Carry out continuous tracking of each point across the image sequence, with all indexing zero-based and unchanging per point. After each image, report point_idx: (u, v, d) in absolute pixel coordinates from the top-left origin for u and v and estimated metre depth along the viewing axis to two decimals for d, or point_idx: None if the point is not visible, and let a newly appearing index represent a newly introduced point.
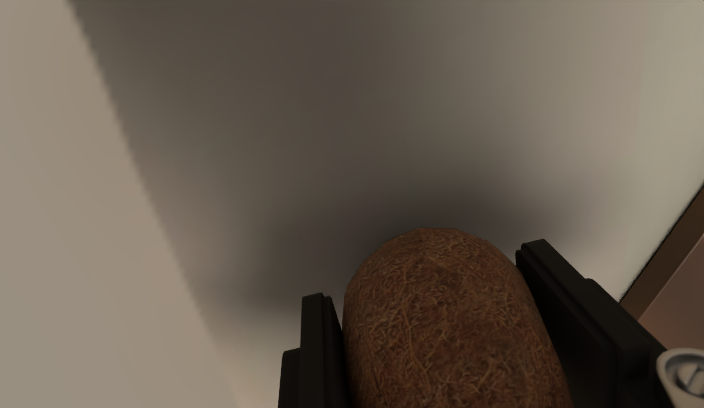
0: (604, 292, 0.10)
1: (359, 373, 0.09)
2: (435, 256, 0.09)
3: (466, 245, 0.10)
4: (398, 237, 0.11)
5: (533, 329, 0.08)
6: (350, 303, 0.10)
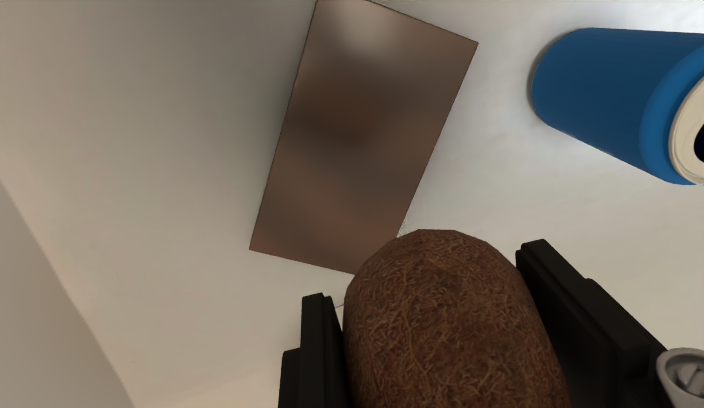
0: (604, 293, 0.10)
1: (359, 375, 0.09)
2: (435, 258, 0.09)
3: (467, 247, 0.10)
4: (398, 239, 0.11)
5: (533, 330, 0.08)
6: (350, 304, 0.10)
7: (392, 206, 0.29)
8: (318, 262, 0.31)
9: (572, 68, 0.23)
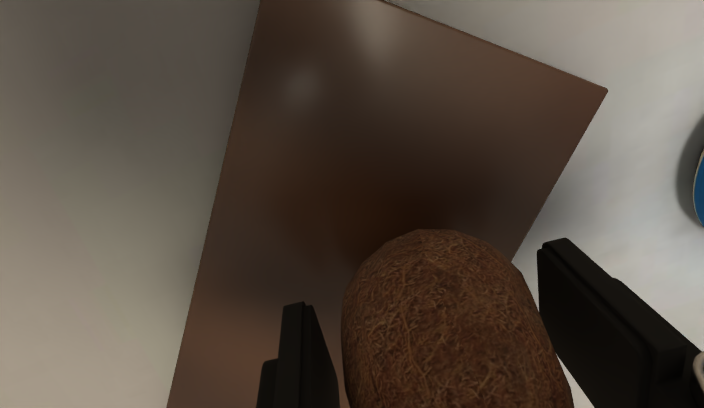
0: (630, 292, 0.10)
1: (357, 377, 0.09)
2: (434, 258, 0.09)
3: (466, 247, 0.10)
4: (397, 238, 0.10)
5: (534, 332, 0.08)
6: (348, 305, 0.10)
7: None
8: None
9: None
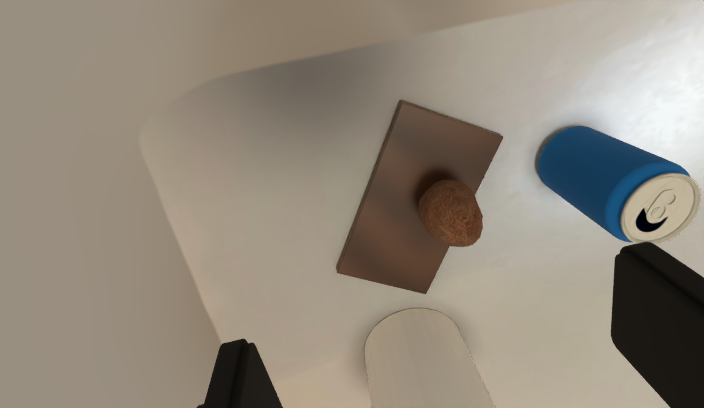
0: None
1: (429, 215, 0.34)
2: (448, 185, 0.35)
3: (457, 183, 0.35)
4: (437, 182, 0.36)
5: (473, 200, 0.34)
6: (423, 201, 0.36)
7: (439, 243, 0.42)
8: (385, 281, 0.43)
9: (566, 160, 0.35)
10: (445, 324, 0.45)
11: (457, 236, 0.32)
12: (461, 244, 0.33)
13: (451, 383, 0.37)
